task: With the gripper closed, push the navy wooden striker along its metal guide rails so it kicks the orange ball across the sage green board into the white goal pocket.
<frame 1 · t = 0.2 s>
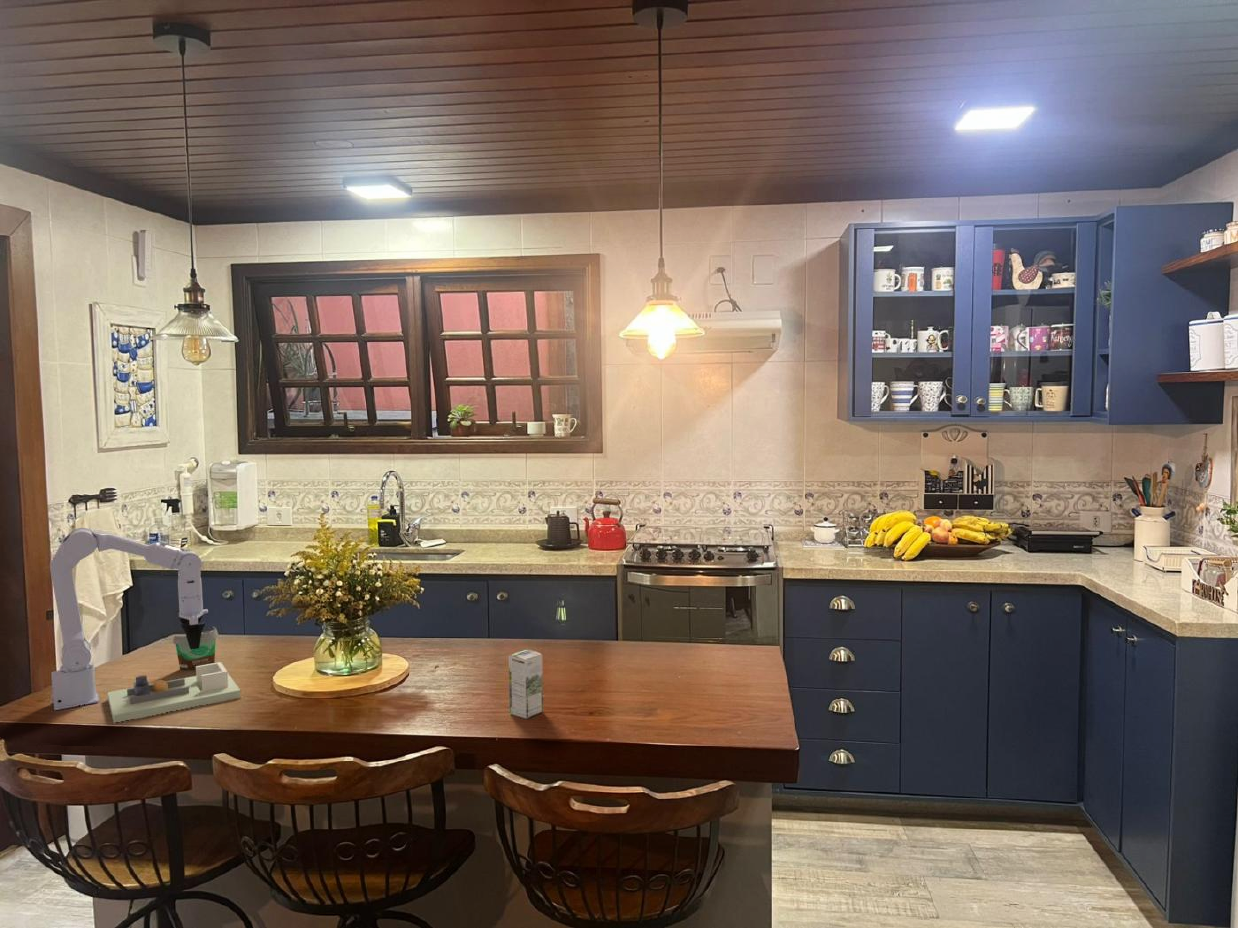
hand: (193, 645, 230), 10 cm above the counter, tool pointing down, fingers open, 7 cm apart
syrup box: (527, 714, 201), on the counter
goal: (210, 684, 222), resting on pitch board
food container: (201, 667, 243), on the counter
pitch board: (174, 698, 217), on the counter
ball: (160, 686, 215), point 4 cm above the counter, touching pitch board
striker: (141, 686, 213), point 5 cm above the counter, slide at 0.0 cm
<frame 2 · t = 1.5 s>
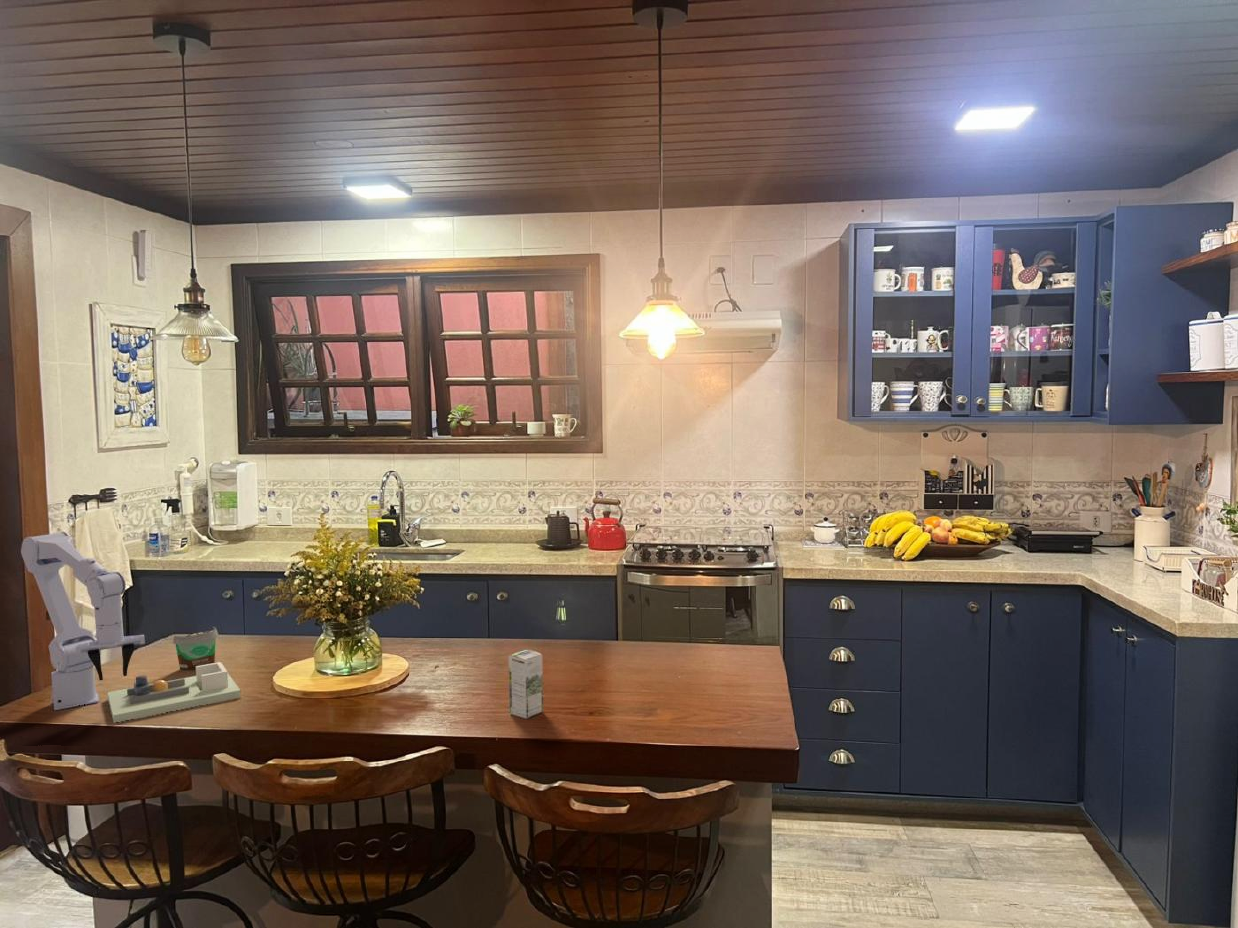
hand: (113, 677, 209), 8 cm above the counter, tool pointing down, fingers open, 4 cm apart
nothing on the counter moved.
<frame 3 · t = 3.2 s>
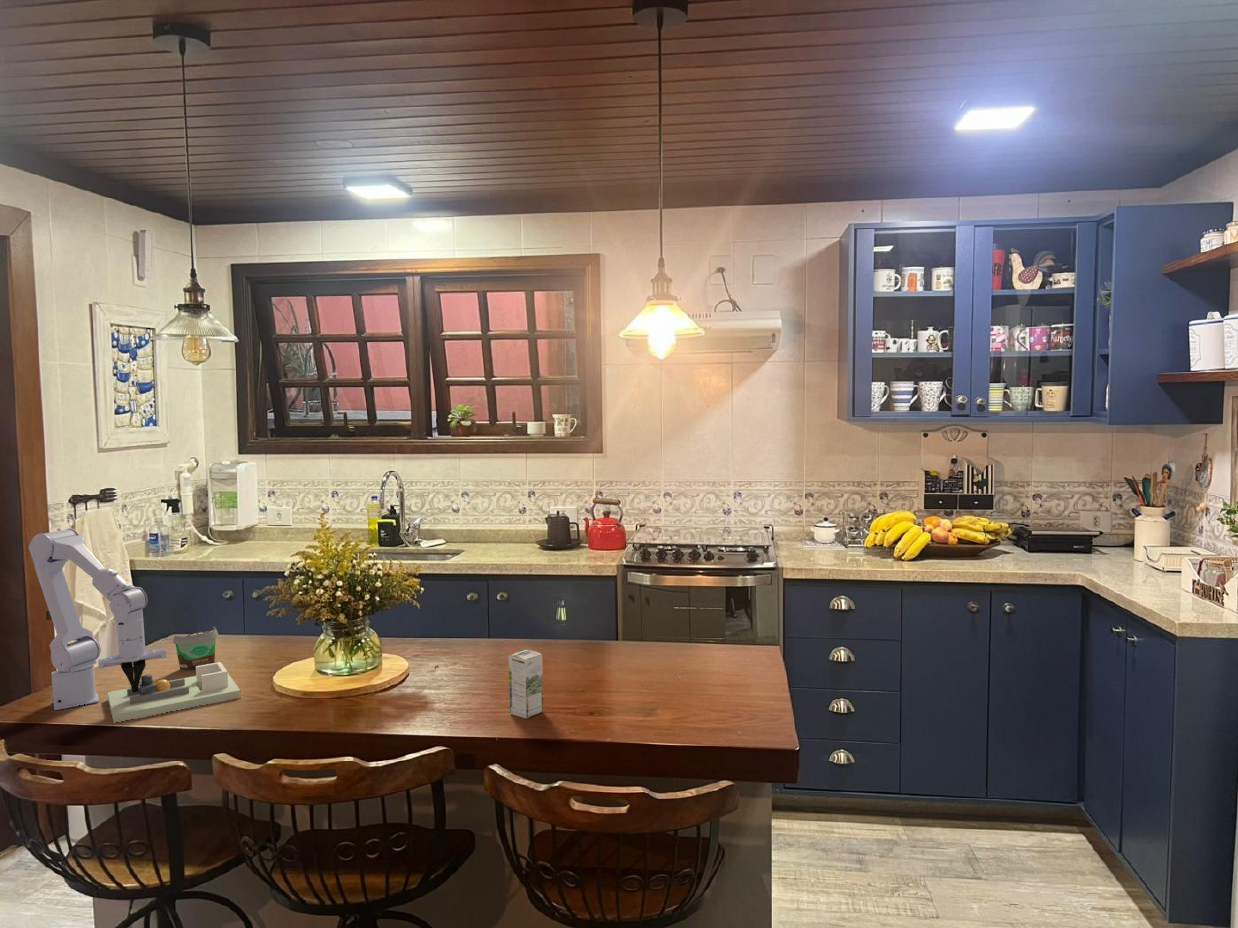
hand: (135, 690, 212), 4 cm above the counter, tool pointing down, fingers closed
ball: (162, 686, 215), point 4 cm above the counter, tilted 13°, touching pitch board
striker: (147, 685, 213), point 5 cm above the counter, slide at 1.2 cm, touching gripper
everything else where it was.
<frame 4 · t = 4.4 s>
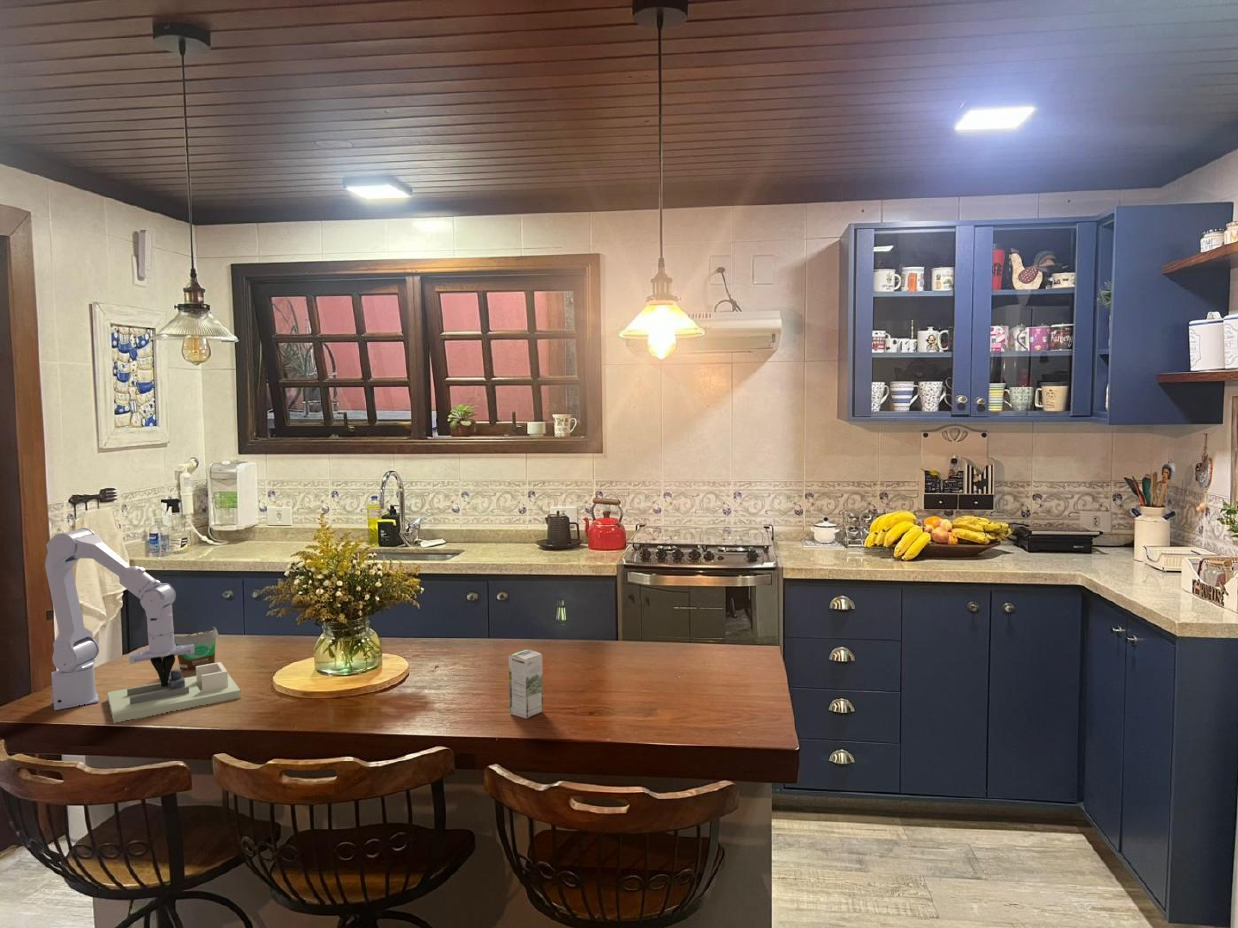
hand: (164, 685, 216), 4 cm above the counter, tool pointing down, fingers closed
ball: (212, 684, 222), point 2 cm above the counter, tilted 49°
striker: (176, 680, 217), point 5 cm above the counter, slide at 7.8 cm, touching gripper
everything else where it was.
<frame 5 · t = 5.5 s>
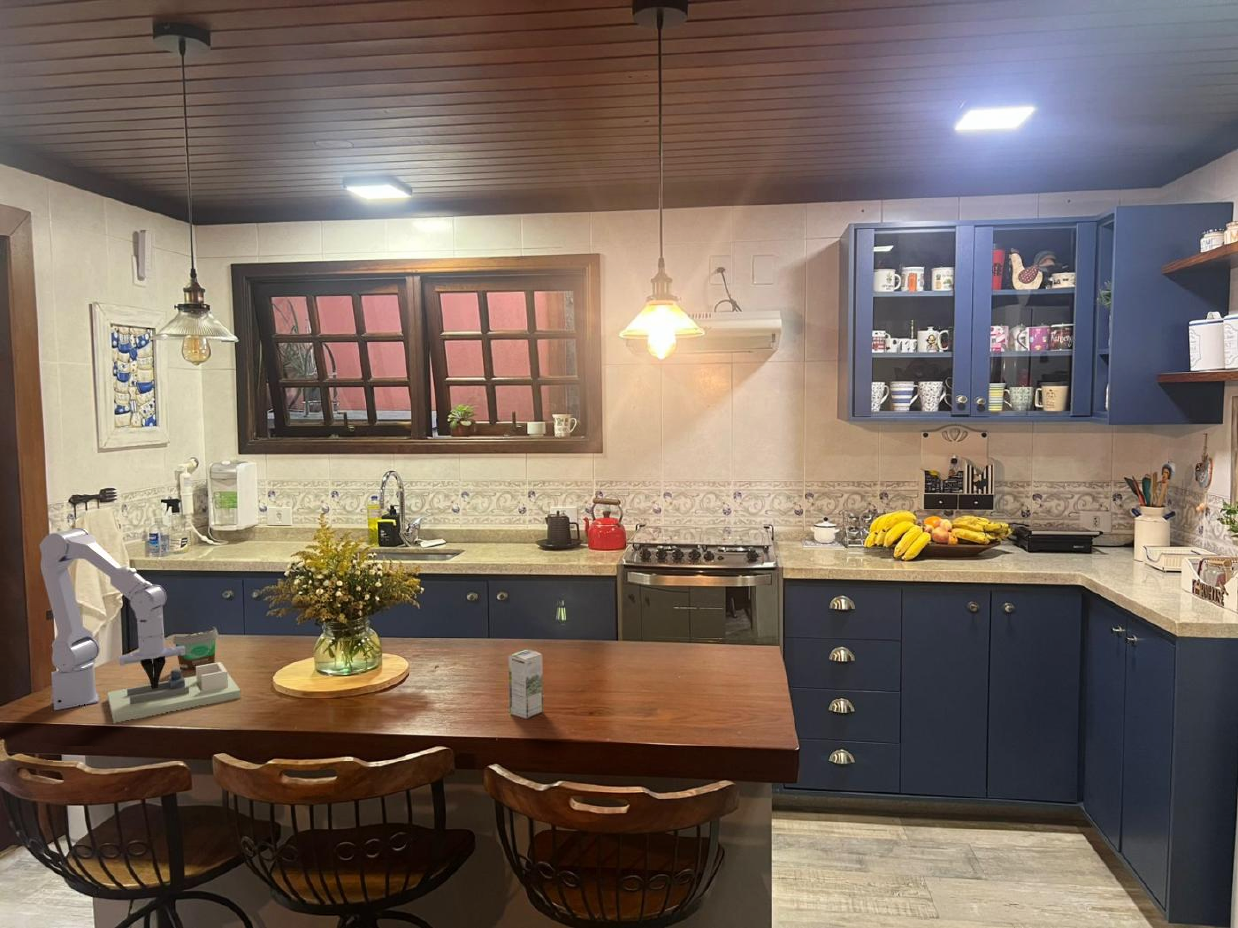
hand: (154, 687, 214), 4 cm above the counter, tool pointing down, fingers closed
ball: (208, 685, 221), point 2 cm above the counter, tilted 18°
striker: (176, 680, 217), point 5 cm above the counter, slide at 7.8 cm
everything else where it was.
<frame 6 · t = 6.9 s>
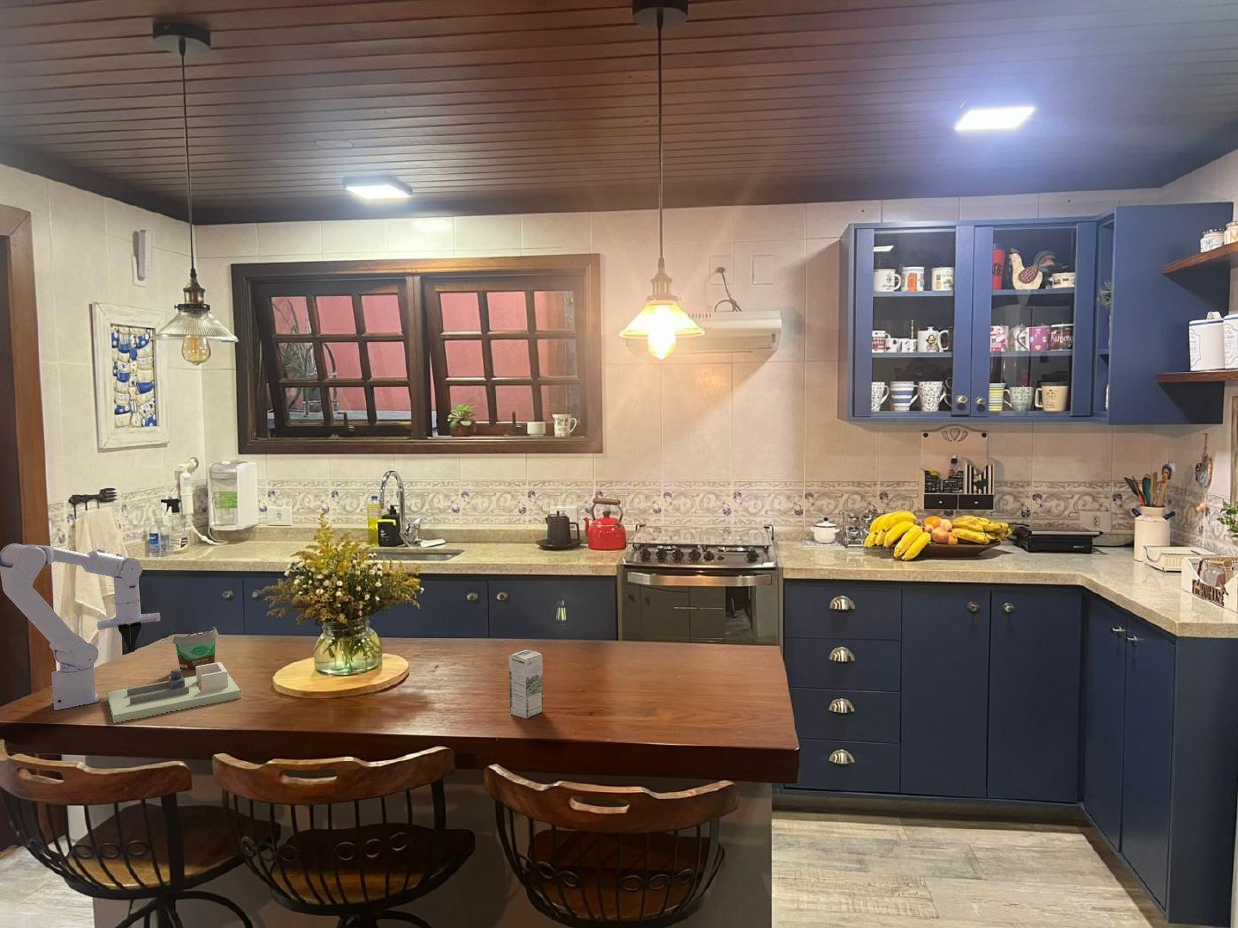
hand: (131, 651, 228), 9 cm above the counter, tool pointing down, fingers closed
ball: (205, 685, 221), point 2 cm above the counter
everything else where it was.
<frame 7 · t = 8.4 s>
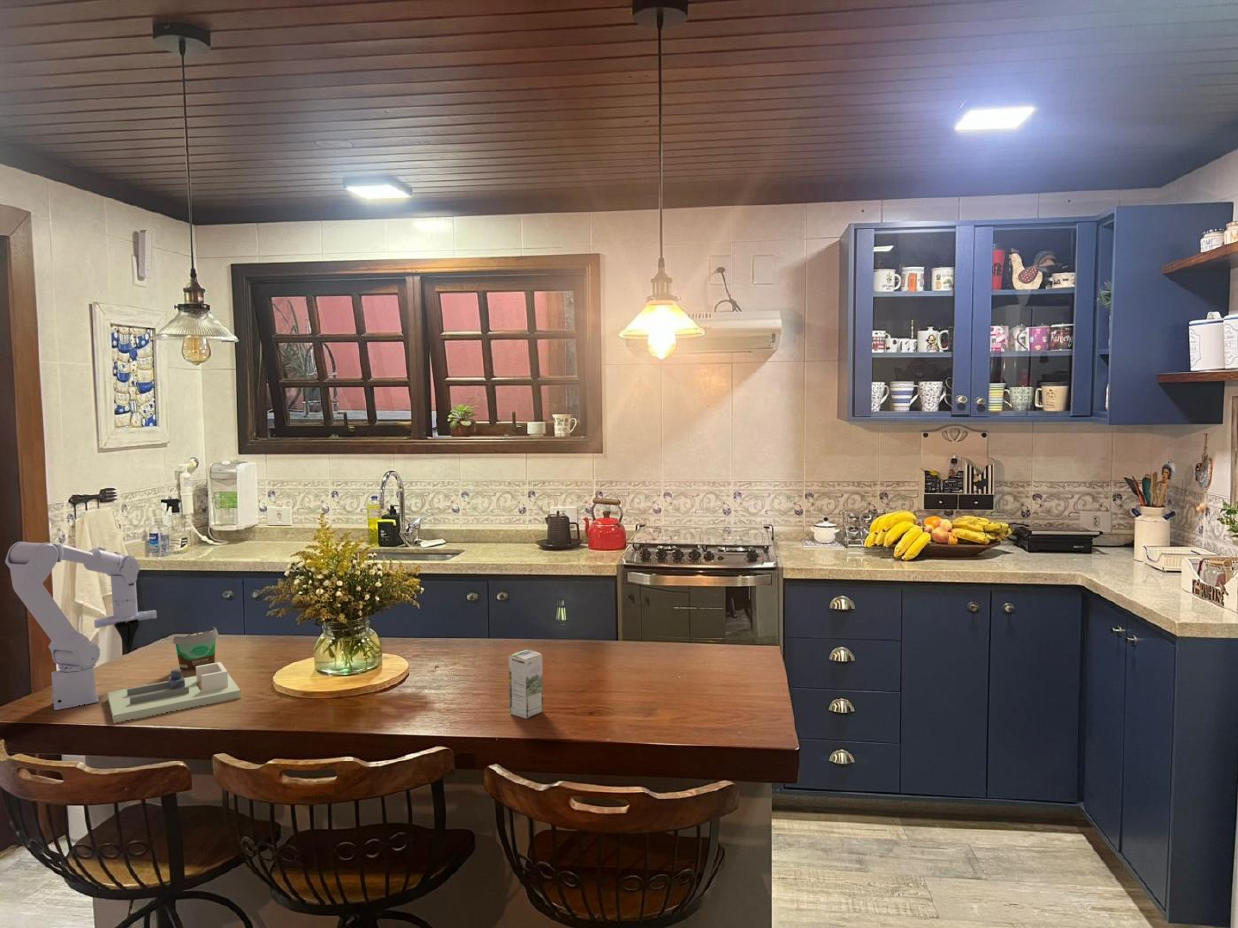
hand: (128, 648, 230), 9 cm above the counter, tool pointing down, fingers closed
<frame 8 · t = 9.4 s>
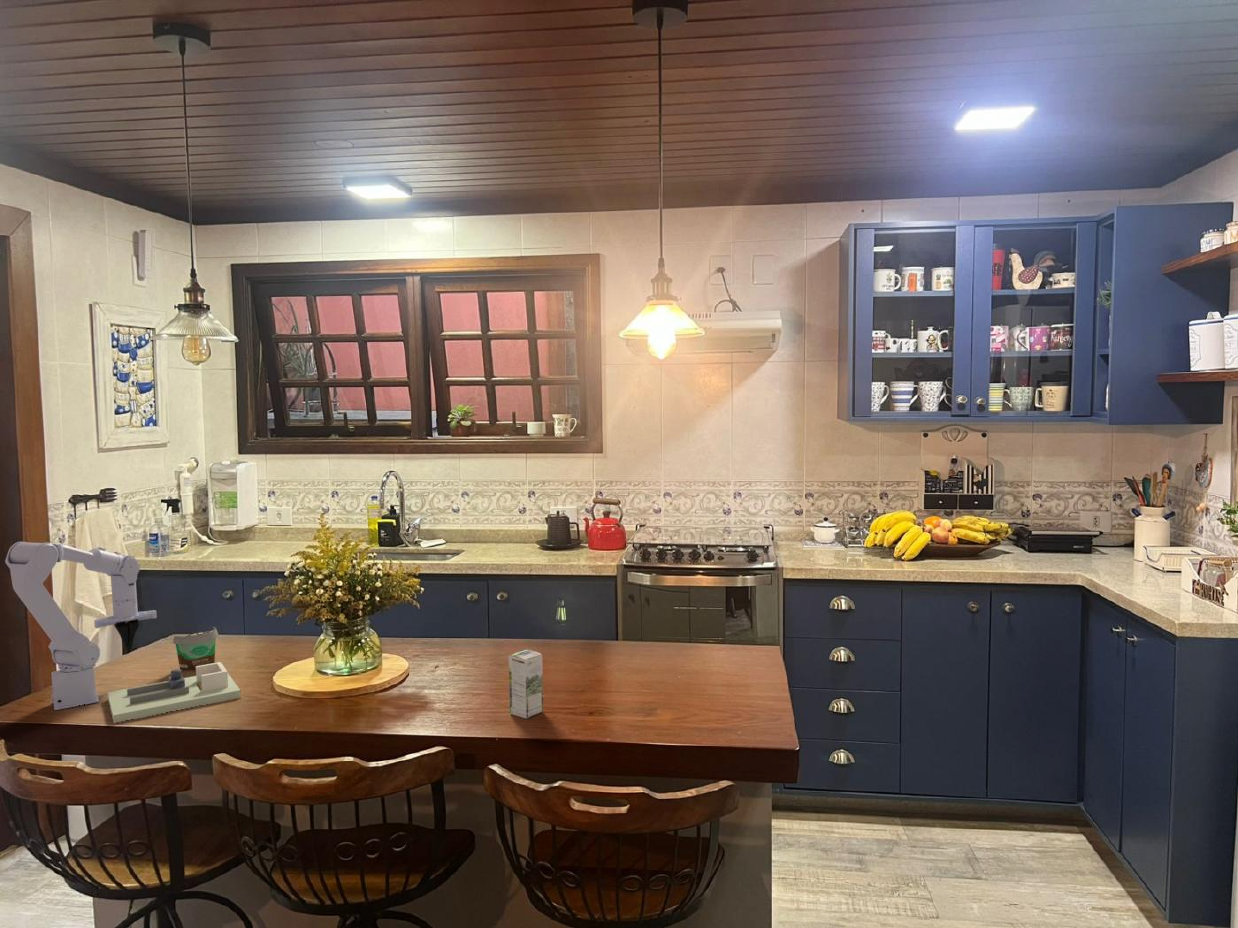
hand: (128, 648, 230), 9 cm above the counter, tool pointing down, fingers closed
ball: (207, 685, 221), point 2 cm above the counter, tilted 13°
everything else where it was.
at the end: ball inside the target area (0.6 cm from its centre), point 1.7 cm above the counter; ball point 1.7 cm above the counter; striker slide at 7.8 cm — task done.
